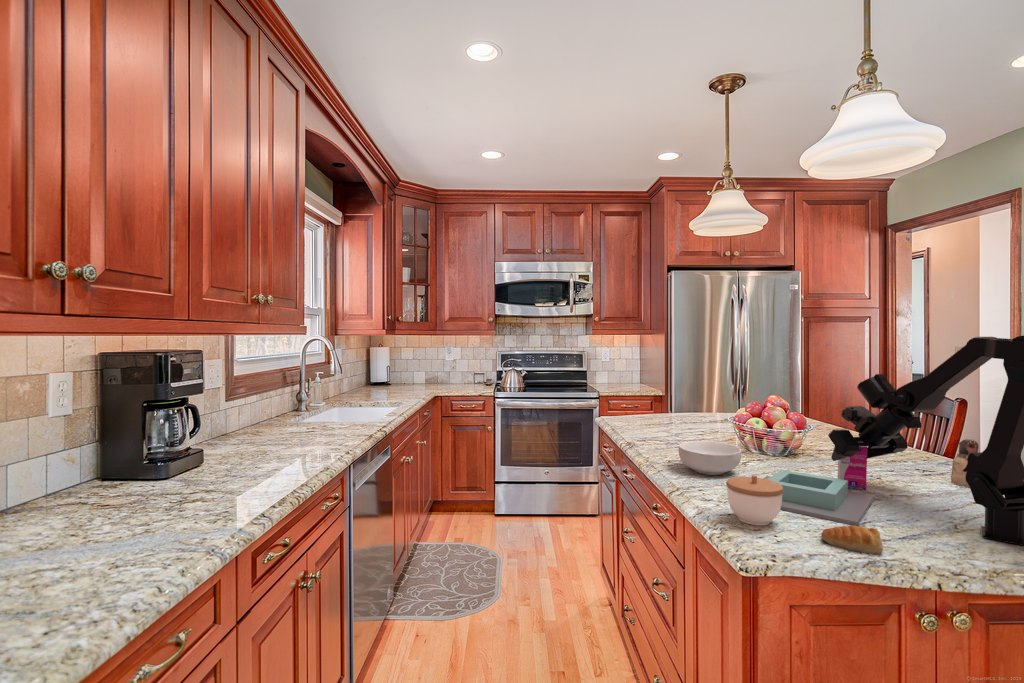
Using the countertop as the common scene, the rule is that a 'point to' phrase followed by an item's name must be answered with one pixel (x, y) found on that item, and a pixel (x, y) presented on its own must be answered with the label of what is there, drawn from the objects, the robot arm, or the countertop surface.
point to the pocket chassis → (821, 497)
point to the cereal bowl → (710, 456)
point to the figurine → (962, 461)
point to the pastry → (854, 538)
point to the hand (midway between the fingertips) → (847, 458)
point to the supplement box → (854, 469)
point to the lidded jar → (754, 499)
